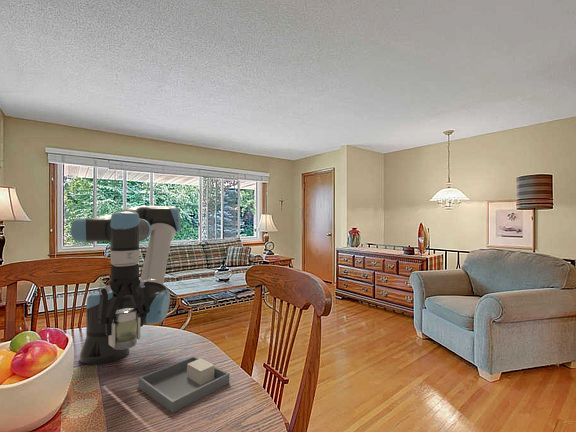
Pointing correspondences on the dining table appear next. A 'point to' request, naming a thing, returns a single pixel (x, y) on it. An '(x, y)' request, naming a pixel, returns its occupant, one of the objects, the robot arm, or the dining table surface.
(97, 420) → the dining table surface
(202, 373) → the cream rectangular block
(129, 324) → the tin can
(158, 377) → the tray
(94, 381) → the dining table surface
